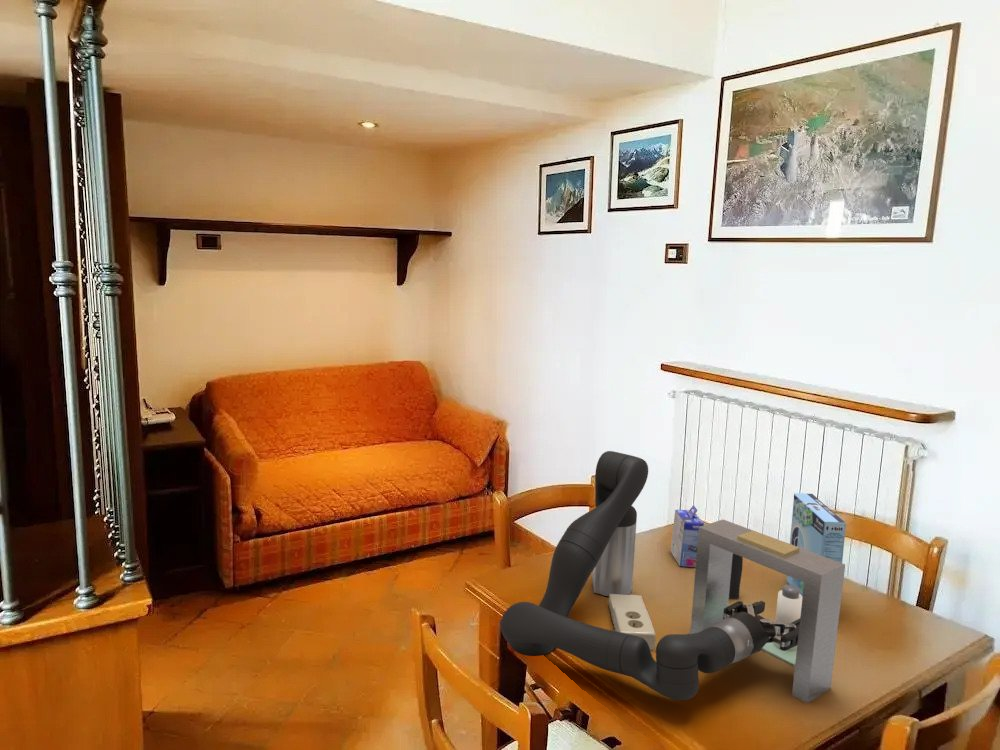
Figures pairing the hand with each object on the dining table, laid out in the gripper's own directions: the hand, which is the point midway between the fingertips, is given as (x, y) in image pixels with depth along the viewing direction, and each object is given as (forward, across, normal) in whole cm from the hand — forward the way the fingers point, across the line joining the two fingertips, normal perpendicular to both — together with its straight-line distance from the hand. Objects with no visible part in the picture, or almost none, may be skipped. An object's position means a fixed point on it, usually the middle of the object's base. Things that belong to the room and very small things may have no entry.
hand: (782, 614), depth 141 cm
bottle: (+2, 0, -8) cm, 8 cm away
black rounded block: (+11, -21, -8) cm, 25 cm away
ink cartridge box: (+20, -39, -8) cm, 44 cm away
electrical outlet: (-18, -24, -9) cm, 31 cm away
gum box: (+26, -8, -8) cm, 29 cm away
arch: (-8, 0, -8) cm, 11 cm away
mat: (+3, 0, -8) cm, 8 cm away
